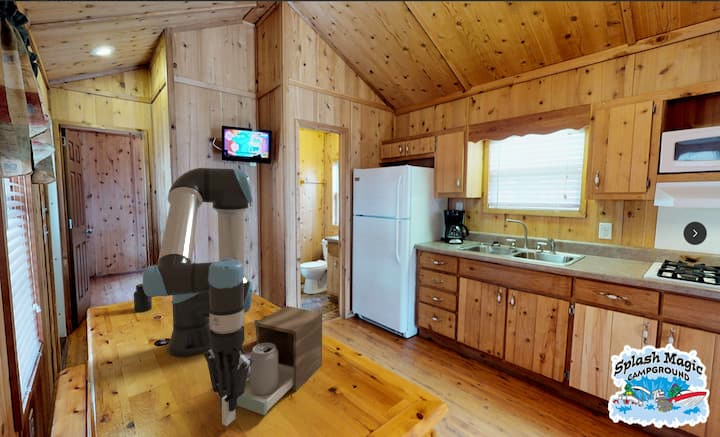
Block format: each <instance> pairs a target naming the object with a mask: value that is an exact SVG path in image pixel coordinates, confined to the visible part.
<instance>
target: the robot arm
mask: <svg viewBox="0 0 720 437" xmlns="http://www.w3.org/2000/svg"><path fill="white" fill-rule="evenodd" d="M250 179H251V178H250V175H249V173H248V171H246V169H245V170H244V169H238V168H237V169H236V168H213V167H212V168H211V167H208V168H207V167H197V168H193V169H191V170H189V171H186V172H184V173H183V174H182V175H180V176H179V177H178V178H177V179H175V181H174V182H173V184H172V185H171V186H170V188H169V191H168V195H167V201H168V203H169V208H168V214H167V217H166V218H167V219H166V224H165V227H164V232H163V236H162V242H161V246H160V251H159V255H158V260H157V264H154V265H149V266H147V267H146V268H145V269H144V271H143V275H142V284H143V290H144V292H145V294H146V295H147V296H150V297H165V298H166V297H168V296H172V299H171V303H172V304H171V306H172V327H173V328H172V329H173V330H172V332H171V335H170V340H169V342H168V344H167V349H168V350H167V351H168V354H169V355H171V356H174V357H181V358H183V357H184V358H185V357H190V356H191V357H192V356H195V355H200V354H202V353H203V356H204V358H205V360H206V362H207V369H208V373H209V377H210V382H211V387H212V388H211V389H212V391H213V393H218V396H219V399H220V400H219V401H220V403H219V405H220V409H221V422H222V423H221V424H222V425H224V426H226V427H228V426H229V425H230V424H231V423H232V422H233V421H235V420H236V409H237V407H238V405H237V398H238V397H239V396H241V395H242V394H243V393H244V390H245V385H246V380H247V378H248V375H249V371H250V365H251V364H252V359H251V358H250V357H249V358H247V357H246V356H245V354H244V353H245V351H244V349H243V344H244V341H245V326H244V325H245V314H246V313H248V312H249V310H250V309H251V306H252V301H253V289H254V283H253V282H252V281H250V278H249V276H247V274H245V212H246V211H247V210H248V209H249V204H251V203H253V195H252V187H251V181H250ZM203 203H212V209H213V210H214V211H216V212H217V231H218V232H217V233H218V234H217V235H218V261H213V262H196V263H195V262H194V263H192V262H193V253H194V246H195V245H194V244H195V237H196V227H197V217H198V209H200V207H201V206H202V204H203Z"/></svg>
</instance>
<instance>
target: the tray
mask: <svg viewBox="0 0 720 437" xmlns="http://www.w3.org/2000/svg"><path fill="white" fill-rule="evenodd" d="M293 385H294V367H291V366H288V365H284V364H281V363H278V386H277V388H276V389H275V390H274V391H273V392H271V393H269V394H267V395H257V394H255V393H254V392H252V391H251V389H250V376H249V377H247V380H246V385H245V390H244V393H243V394H242V395H241V396H239V397H238V398H237V407H241V408H244V409H247V410H249V411H251V412H255V413H258V414H259V415H262V416H266V415H267V414H268V411H269V410H270V409H271V408H272V407H273V406H274V405H275V404H276V403H277V402H278V401H279V400H280V399H281V398H282V397H283V396H284V395H285V394H286V393H287V392H288V391H290V390H289V389H290V388H291V387H292V386H293Z"/></svg>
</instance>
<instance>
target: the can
mask: <svg viewBox="0 0 720 437" xmlns="http://www.w3.org/2000/svg"><path fill="white" fill-rule="evenodd" d="M249 358H251V359H252V364H251V365H250V367H249V373H250V374H249V377H250V389H251V391H252V392H254V393H255V394H257V395H267V394H269V393H271V392H273V391H274V390H275V389H276V388H277V386H278V350H277V349H276V346H275V345H274V344H272V343H261V344H258V345H257V344H256V345H255V346H253V348H252V350H251V352H250V354H249Z"/></svg>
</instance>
